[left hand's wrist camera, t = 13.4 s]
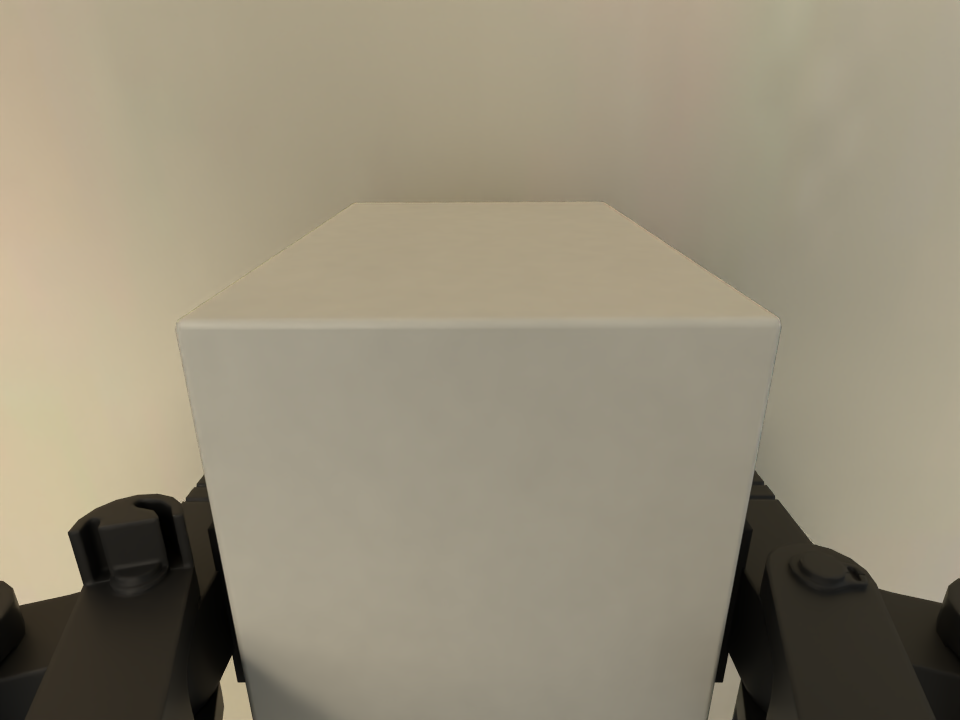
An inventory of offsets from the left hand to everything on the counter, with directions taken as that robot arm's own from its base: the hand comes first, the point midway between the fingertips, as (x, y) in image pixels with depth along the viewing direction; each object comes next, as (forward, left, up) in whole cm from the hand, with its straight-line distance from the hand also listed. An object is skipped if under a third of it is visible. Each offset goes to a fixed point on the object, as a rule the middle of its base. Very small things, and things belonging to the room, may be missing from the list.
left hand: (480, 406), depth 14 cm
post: (+22, -15, -1) cm, 27 cm away
